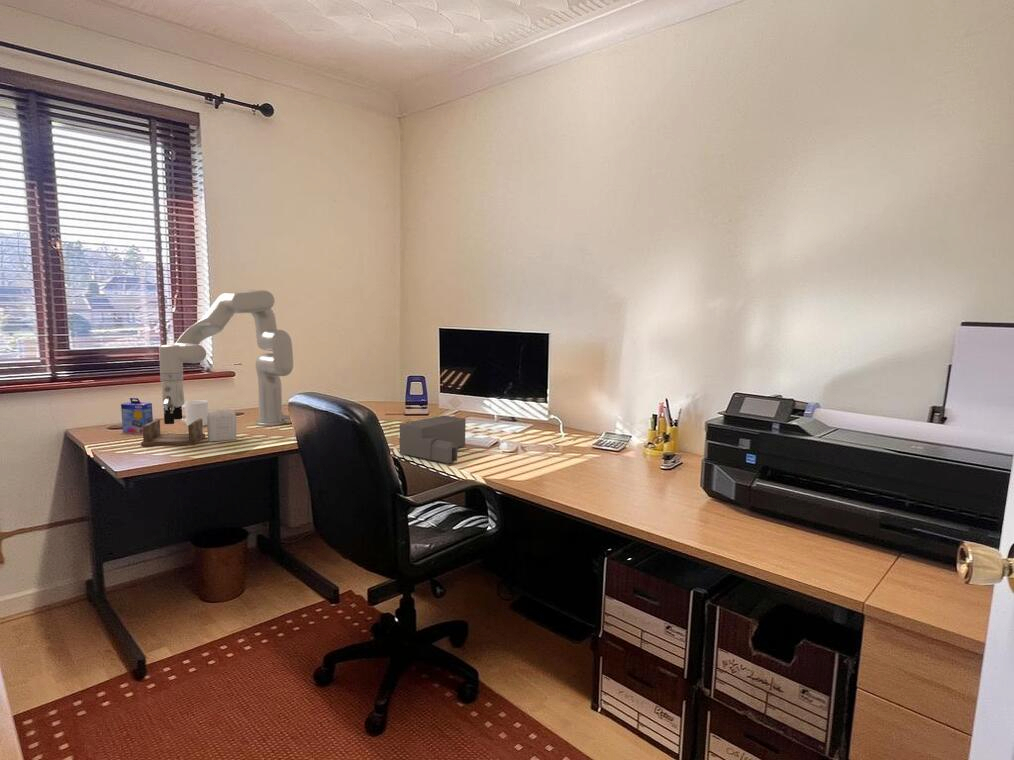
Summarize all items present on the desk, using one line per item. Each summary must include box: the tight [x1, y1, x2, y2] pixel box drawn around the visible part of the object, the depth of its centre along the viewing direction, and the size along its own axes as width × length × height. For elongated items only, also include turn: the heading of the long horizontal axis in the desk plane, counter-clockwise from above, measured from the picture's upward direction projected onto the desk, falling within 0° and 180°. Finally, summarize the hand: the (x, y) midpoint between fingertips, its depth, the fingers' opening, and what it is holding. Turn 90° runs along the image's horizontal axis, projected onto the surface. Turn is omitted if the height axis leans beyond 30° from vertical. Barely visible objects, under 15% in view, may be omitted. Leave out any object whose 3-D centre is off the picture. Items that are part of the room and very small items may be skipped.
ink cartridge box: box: [120, 397, 154, 434], centre depth 233 cm, size 10×6×14 cm, turn 87°
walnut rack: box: [140, 418, 206, 447], centre depth 220 cm, size 14×18×8 cm
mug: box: [179, 399, 209, 427], centre depth 249 cm, size 9×12×11 cm
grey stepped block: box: [399, 415, 467, 464], centre depth 216 cm, size 25×23×11 cm
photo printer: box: [206, 408, 237, 443], centre depth 224 cm, size 10×4×12 cm, turn 125°
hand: (173, 421), depth 219 cm, fingers open, 9 cm apart
